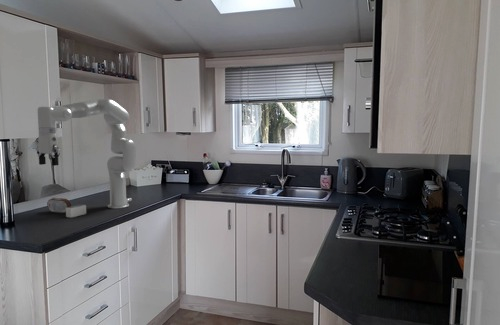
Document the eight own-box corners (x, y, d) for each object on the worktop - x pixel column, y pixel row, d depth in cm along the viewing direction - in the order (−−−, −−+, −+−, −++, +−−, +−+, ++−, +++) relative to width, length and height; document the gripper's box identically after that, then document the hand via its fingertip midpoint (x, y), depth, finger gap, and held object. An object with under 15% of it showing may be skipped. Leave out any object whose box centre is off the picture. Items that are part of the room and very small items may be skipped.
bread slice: (71, 212, 212) (71, 198, 211) (67, 214, 209) (67, 199, 208) (50, 211, 216) (50, 197, 215) (46, 212, 213) (45, 198, 212)
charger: (81, 212, 212) (81, 203, 211) (86, 213, 210) (85, 204, 209) (66, 216, 203) (65, 207, 202) (71, 217, 201) (70, 208, 200)
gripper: (65, 131, 184) (67, 165, 186) (42, 131, 191) (44, 163, 193) (51, 131, 177) (53, 166, 179) (28, 131, 185) (30, 164, 186)
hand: (48, 164), depth 186 cm, fingers open, 9 cm apart
